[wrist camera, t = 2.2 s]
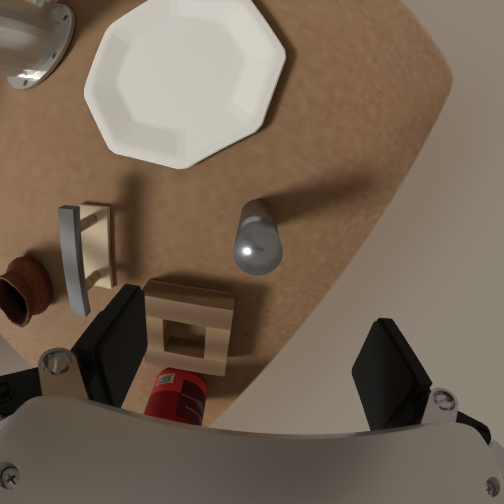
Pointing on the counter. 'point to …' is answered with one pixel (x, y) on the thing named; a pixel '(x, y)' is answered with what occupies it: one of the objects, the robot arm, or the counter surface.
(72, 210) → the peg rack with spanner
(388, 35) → the counter surface
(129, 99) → the plate
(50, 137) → the counter surface
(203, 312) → the block with square hole
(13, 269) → the ceramic pot
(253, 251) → the pin
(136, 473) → the robot arm
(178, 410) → the canned food
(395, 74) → the counter surface
